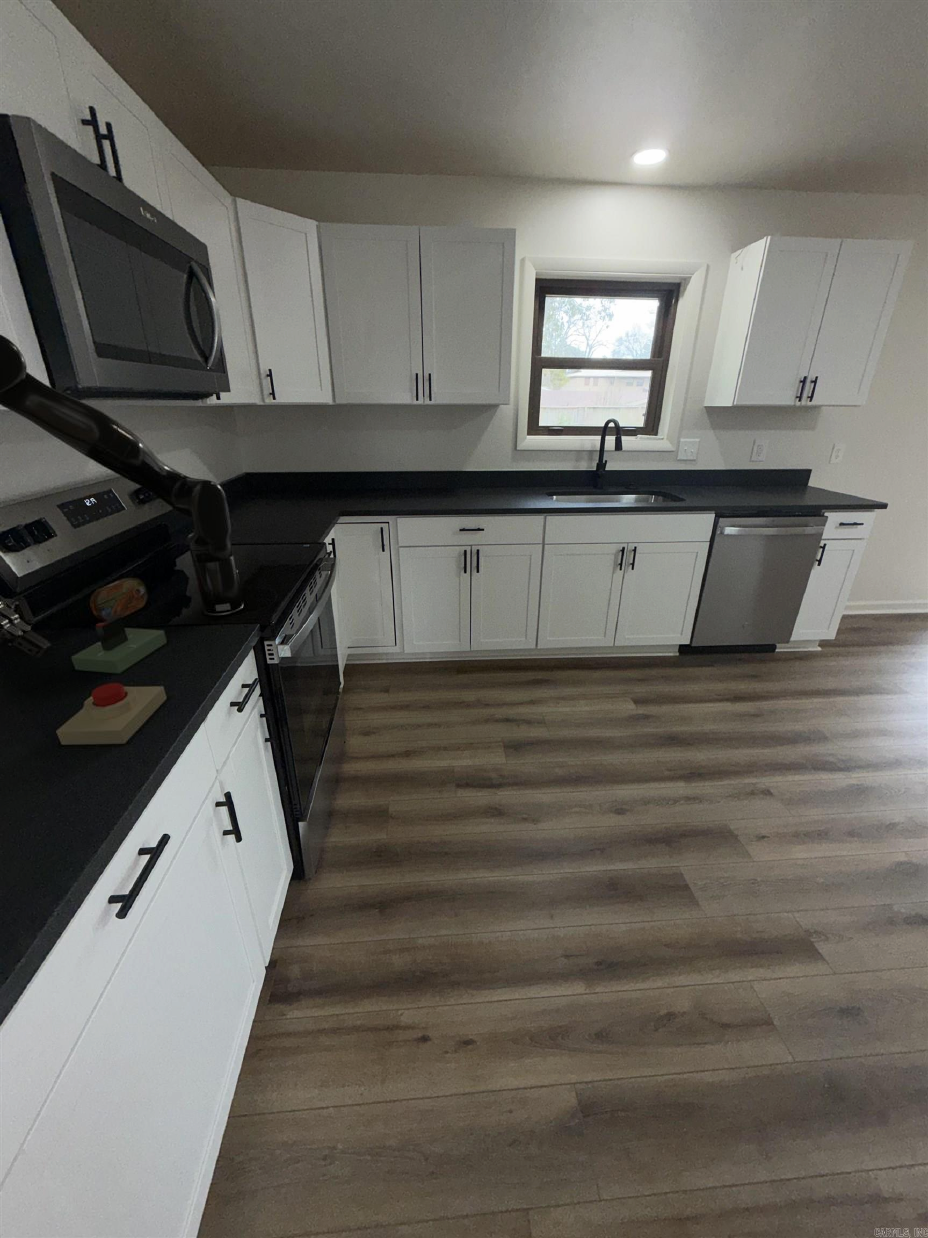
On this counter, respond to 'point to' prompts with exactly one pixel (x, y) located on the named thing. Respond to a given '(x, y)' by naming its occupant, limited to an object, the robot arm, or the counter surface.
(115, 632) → the black upright block
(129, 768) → the counter surface
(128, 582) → the tin
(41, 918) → the counter surface
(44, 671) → the counter surface
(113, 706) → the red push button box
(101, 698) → the power button
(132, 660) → the panel
